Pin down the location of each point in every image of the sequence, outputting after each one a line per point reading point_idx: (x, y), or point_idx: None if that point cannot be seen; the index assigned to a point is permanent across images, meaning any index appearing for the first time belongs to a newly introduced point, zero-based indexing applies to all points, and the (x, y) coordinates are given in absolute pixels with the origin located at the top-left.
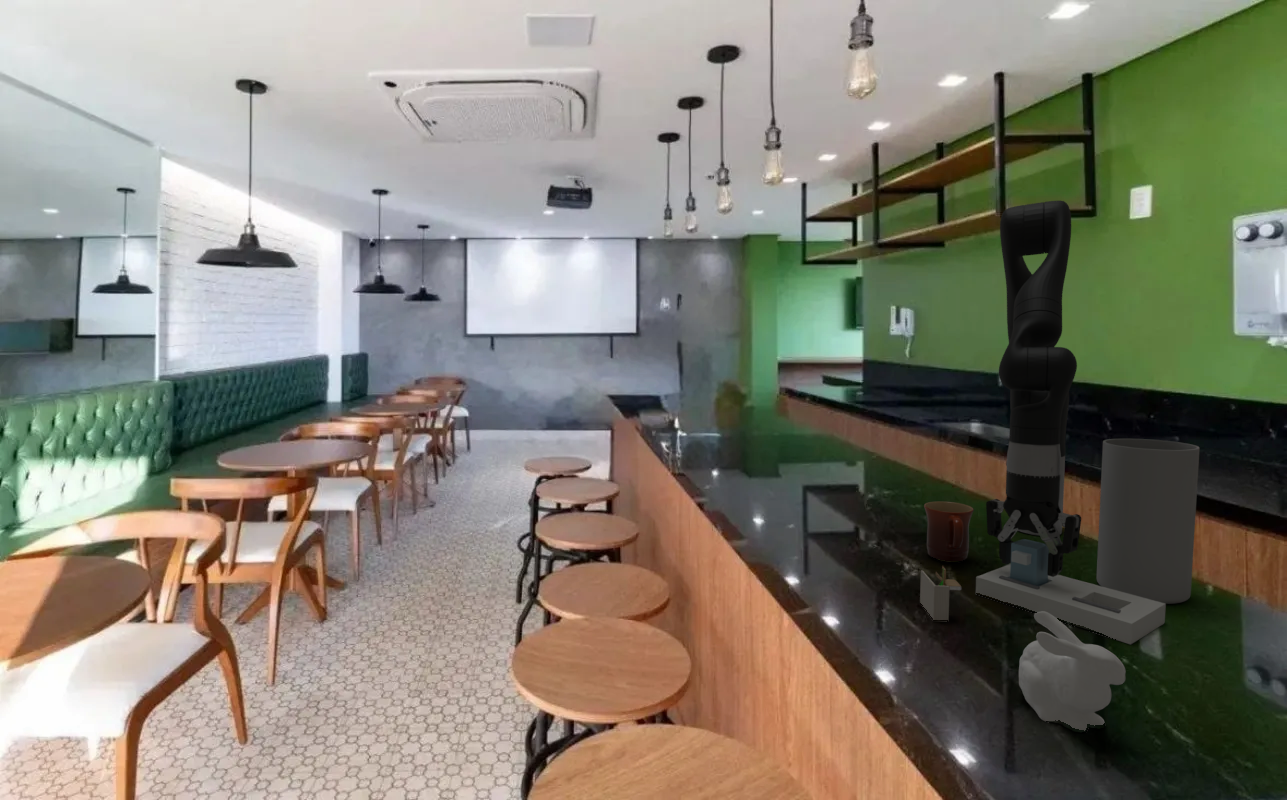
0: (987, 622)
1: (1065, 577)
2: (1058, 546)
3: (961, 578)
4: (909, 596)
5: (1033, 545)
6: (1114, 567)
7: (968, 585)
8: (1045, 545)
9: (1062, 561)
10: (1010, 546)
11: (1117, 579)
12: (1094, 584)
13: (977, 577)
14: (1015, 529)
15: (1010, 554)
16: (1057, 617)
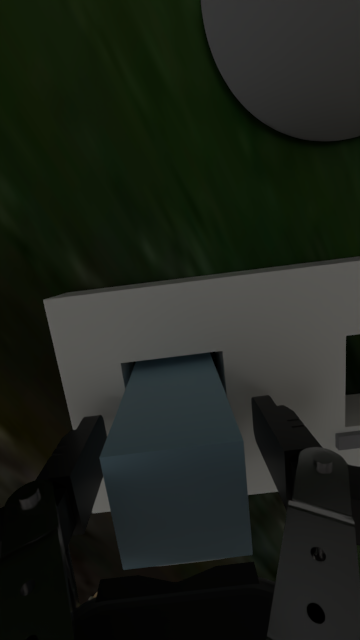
0: (221, 565)
1: (229, 285)
2: (357, 543)
3: (5, 413)
4: None
5: (205, 517)
6: (352, 88)
7: (53, 439)
8: (239, 468)
9: (309, 433)
10: (84, 481)
11: (337, 118)
12: (317, 265)
13: (96, 512)
14: (74, 594)
15: (95, 450)
16: None
